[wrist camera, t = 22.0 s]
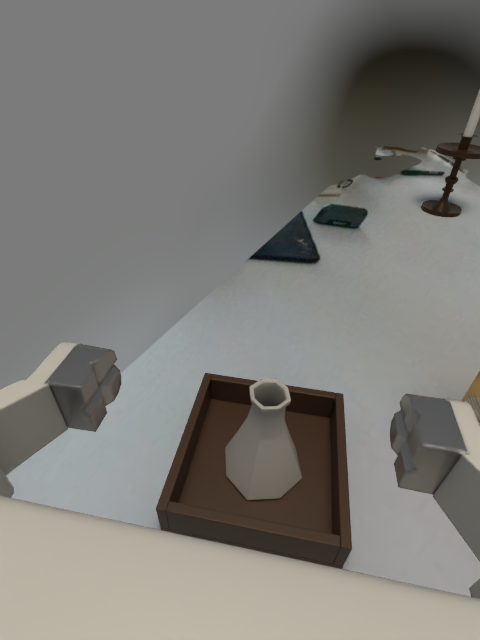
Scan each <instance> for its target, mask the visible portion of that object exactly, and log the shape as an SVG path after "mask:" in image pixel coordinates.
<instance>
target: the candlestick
mask: <svg viewBox="0 0 480 640" xmlns="http://www.w3.org/2000/svg"><path fill="white" fill-rule="evenodd" d="M479 117H480V90H479V92H478V95H477V98H476V101H475V104H474V106H473V109H472V112H471V115H470V117H469V120H468V123H467V126H466V129H465V132H464V134H458V135H460V136H462V139H461V141H460V143H441V144H438V145H437V148H436V151H437V152H438V153H441V154H444V155H448V156H452V157H453V159H455V163H454V166H453V168H452V171H451V174H450V176H447V177H446V178H445V182H446V183H447V184H446V186H445V188H443V189H442V190H443V191H444V193H443V196H442V198H441V199H440V200H439V201H437V200H429V201H425V202H423V203H422V206H421V208H422V210H424V211H425V212H427V213H430V214H433V215H437V216H443V217H455V216H459V215H460V213H461V210H462V209H461V208H460V207H459V206H457V205H455V204H452V203H449V202H448V197H449V194H450V192H453V189H452V187H453V185H454V184H456V183H457V181H458V178H457V177H456V175H457V172H458V170H459V167H460V164H461V162H462V161H464V160H466V159H480V146H476V145H471V144H470V143H471V140H472V137H477V135H473V133H474V130H475V128H476V125H477V123H478V120H479Z"/></svg>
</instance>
